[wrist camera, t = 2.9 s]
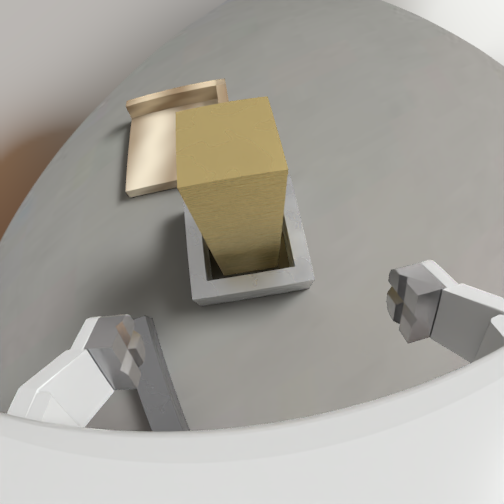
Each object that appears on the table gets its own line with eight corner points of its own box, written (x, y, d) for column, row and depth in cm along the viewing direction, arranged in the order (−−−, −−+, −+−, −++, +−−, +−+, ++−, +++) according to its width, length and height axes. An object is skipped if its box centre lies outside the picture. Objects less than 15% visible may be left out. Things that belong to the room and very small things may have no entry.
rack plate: (130, 197, 28) (116, 181, 25) (136, 119, 31) (126, 101, 28) (240, 175, 28) (237, 155, 25) (227, 98, 31) (224, 78, 28)
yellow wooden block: (224, 275, 25) (177, 188, 12) (217, 226, 26) (175, 111, 13) (277, 267, 25) (288, 169, 12) (268, 218, 26) (267, 96, 13)
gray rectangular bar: (191, 430, 21) (185, 436, 19) (164, 436, 21) (156, 442, 19) (153, 318, 24) (145, 315, 22) (128, 326, 24) (118, 324, 22)
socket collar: (201, 306, 24) (192, 299, 21) (191, 208, 27) (183, 192, 24) (309, 288, 24) (314, 279, 21) (287, 192, 27) (289, 174, 24)
